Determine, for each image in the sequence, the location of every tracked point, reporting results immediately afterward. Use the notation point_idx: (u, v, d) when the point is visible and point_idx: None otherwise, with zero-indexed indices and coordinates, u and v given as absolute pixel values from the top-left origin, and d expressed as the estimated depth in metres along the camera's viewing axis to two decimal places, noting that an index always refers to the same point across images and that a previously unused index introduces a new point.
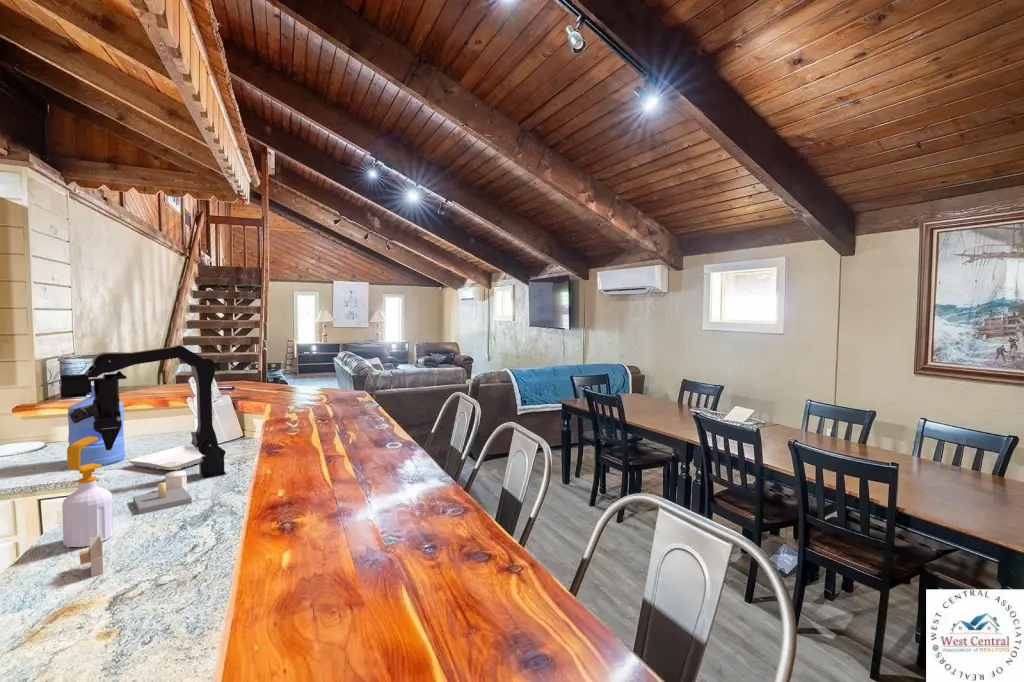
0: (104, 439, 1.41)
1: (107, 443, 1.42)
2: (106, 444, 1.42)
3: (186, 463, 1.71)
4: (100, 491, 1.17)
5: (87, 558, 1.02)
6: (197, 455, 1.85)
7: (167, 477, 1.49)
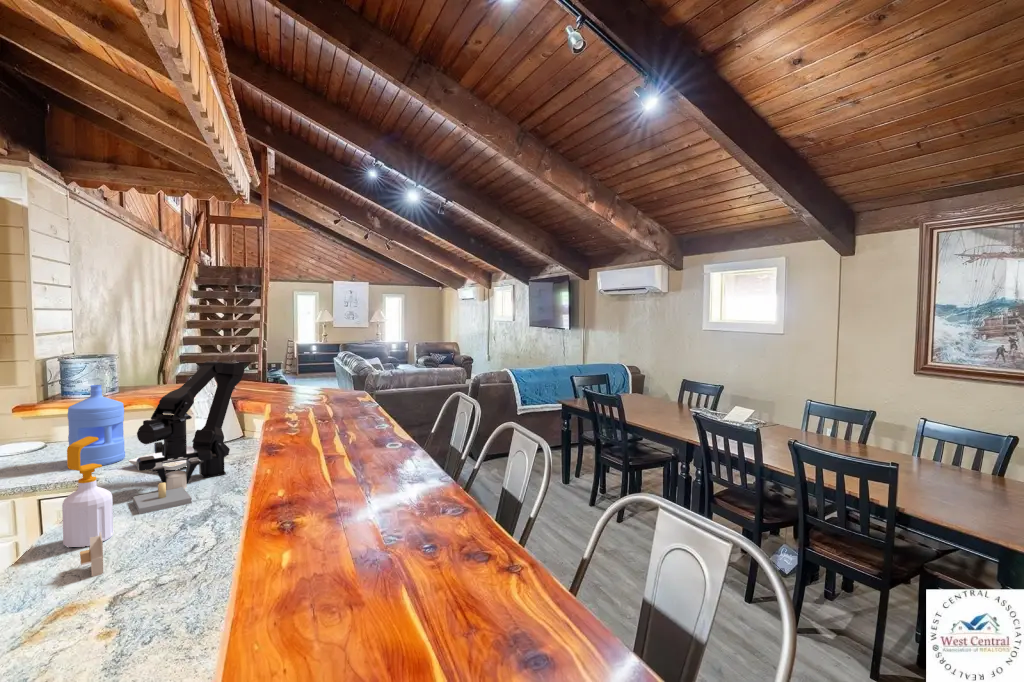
0: (159, 476, 1.49)
1: (162, 481, 1.49)
2: None
3: None
4: (100, 491, 1.17)
5: (88, 558, 1.02)
6: None
7: (167, 477, 1.49)
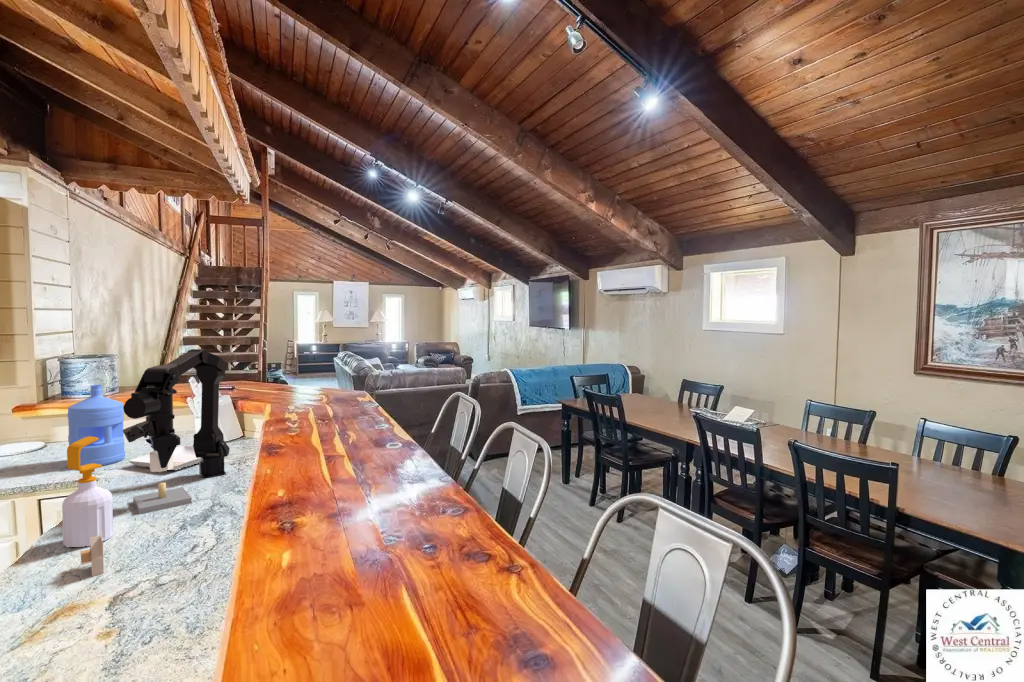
0: (160, 457, 1.37)
1: (163, 460, 1.38)
2: (162, 462, 1.38)
3: (186, 463, 1.71)
4: (99, 491, 1.17)
5: (88, 558, 1.02)
6: None
7: None
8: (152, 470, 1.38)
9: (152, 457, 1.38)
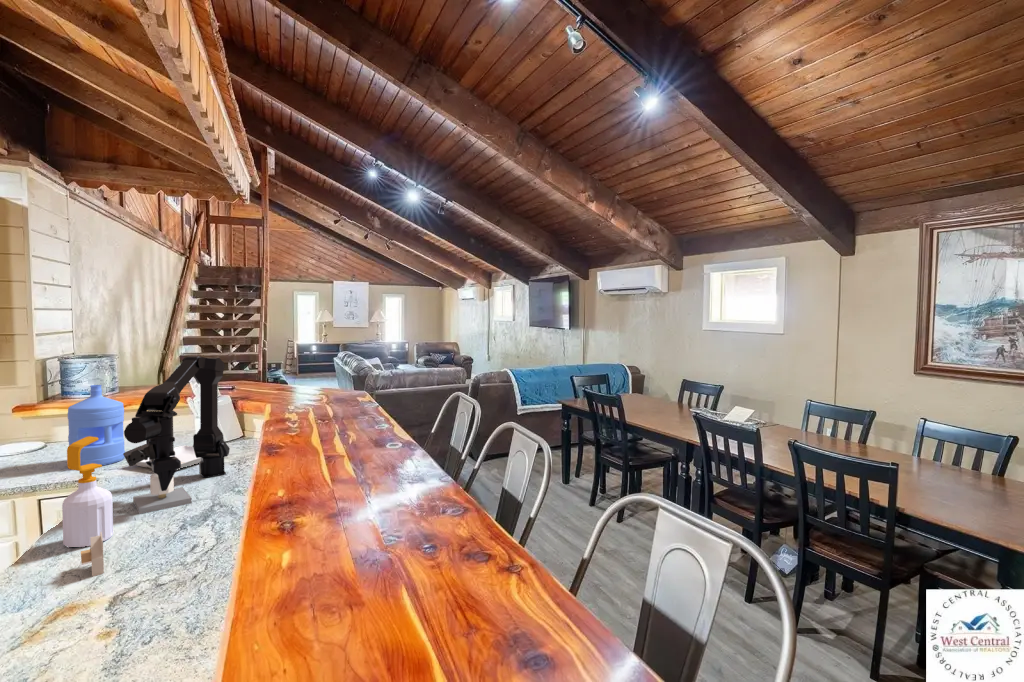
0: (160, 480, 1.37)
1: (163, 483, 1.38)
2: (162, 485, 1.38)
3: (186, 463, 1.71)
4: (100, 491, 1.17)
5: (88, 557, 1.02)
6: None
7: None
8: (153, 493, 1.38)
9: (152, 480, 1.38)
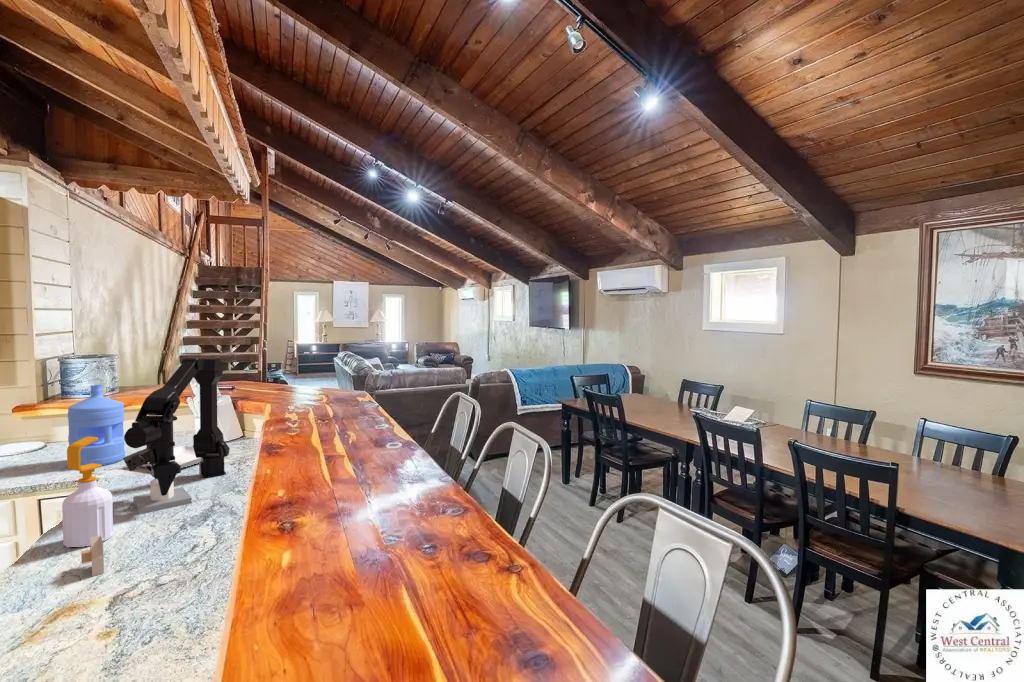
0: (160, 484, 1.37)
1: (163, 488, 1.38)
2: (162, 489, 1.38)
3: (186, 463, 1.71)
4: (100, 491, 1.17)
5: (88, 557, 1.02)
6: None
7: None
8: (153, 499, 1.38)
9: (153, 486, 1.38)
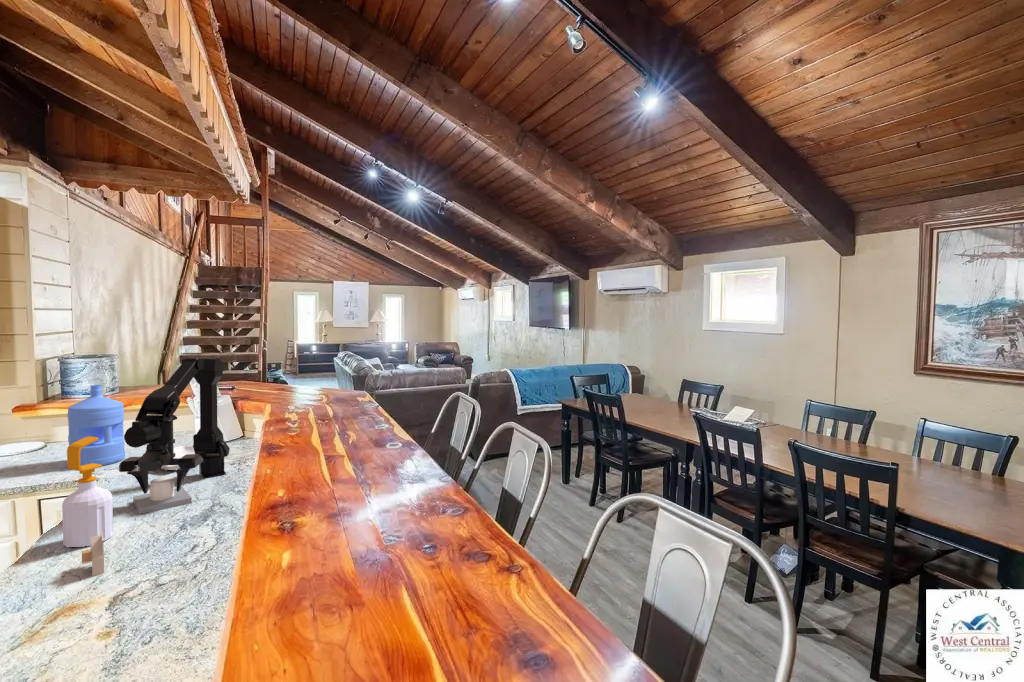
0: (181, 479, 1.41)
1: (180, 483, 1.42)
2: (180, 484, 1.42)
3: None
4: (100, 491, 1.17)
5: (89, 557, 1.02)
6: None
7: None
8: (164, 498, 1.39)
9: (163, 485, 1.39)
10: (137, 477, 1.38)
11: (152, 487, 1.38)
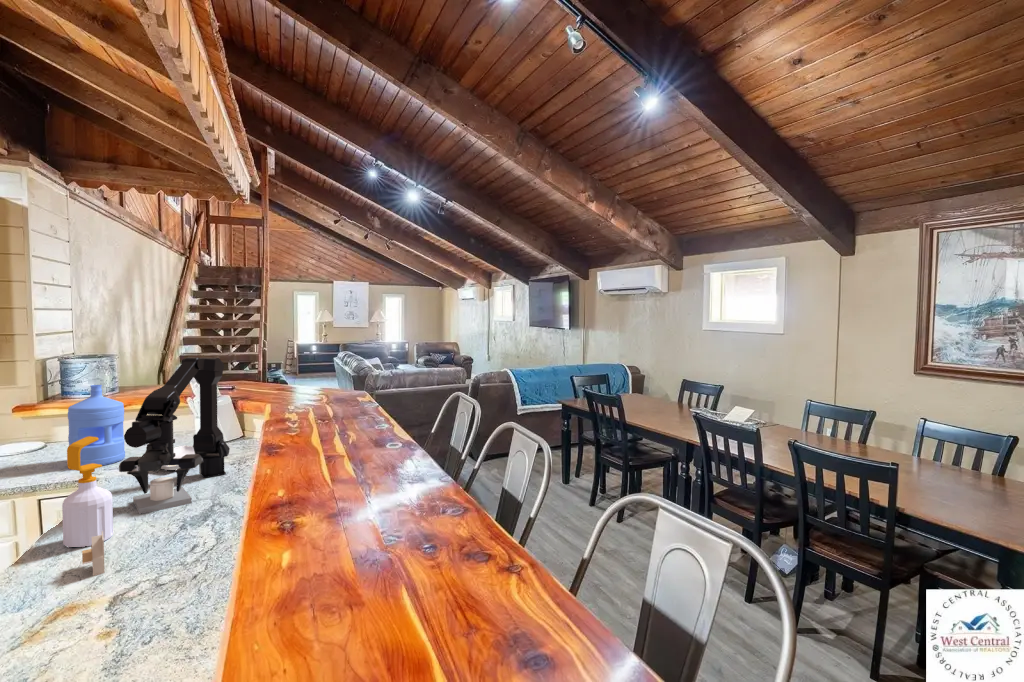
0: (181, 479, 1.41)
1: (180, 483, 1.42)
2: (180, 484, 1.42)
3: None
4: (100, 491, 1.17)
5: (89, 557, 1.02)
6: None
7: None
8: (172, 495, 1.42)
9: (172, 482, 1.41)
10: (137, 477, 1.38)
11: (162, 487, 1.39)
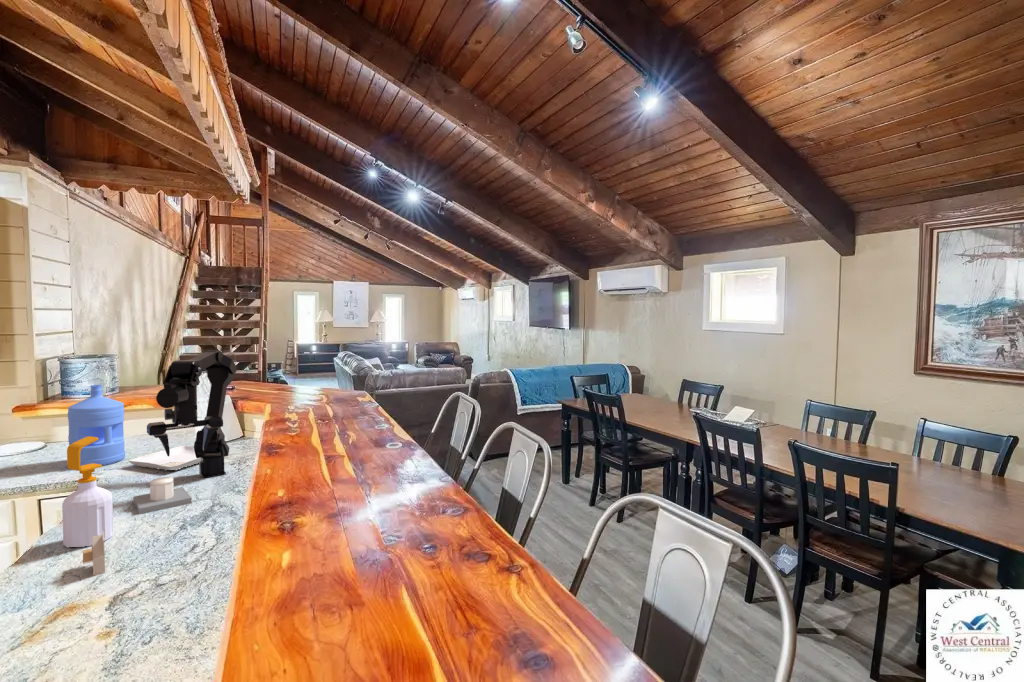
0: None
1: (165, 448, 1.45)
2: None
3: (186, 463, 1.71)
4: (100, 491, 1.17)
5: (90, 557, 1.02)
6: None
7: None
8: (172, 495, 1.42)
9: (172, 482, 1.41)
10: None
11: (162, 487, 1.39)
